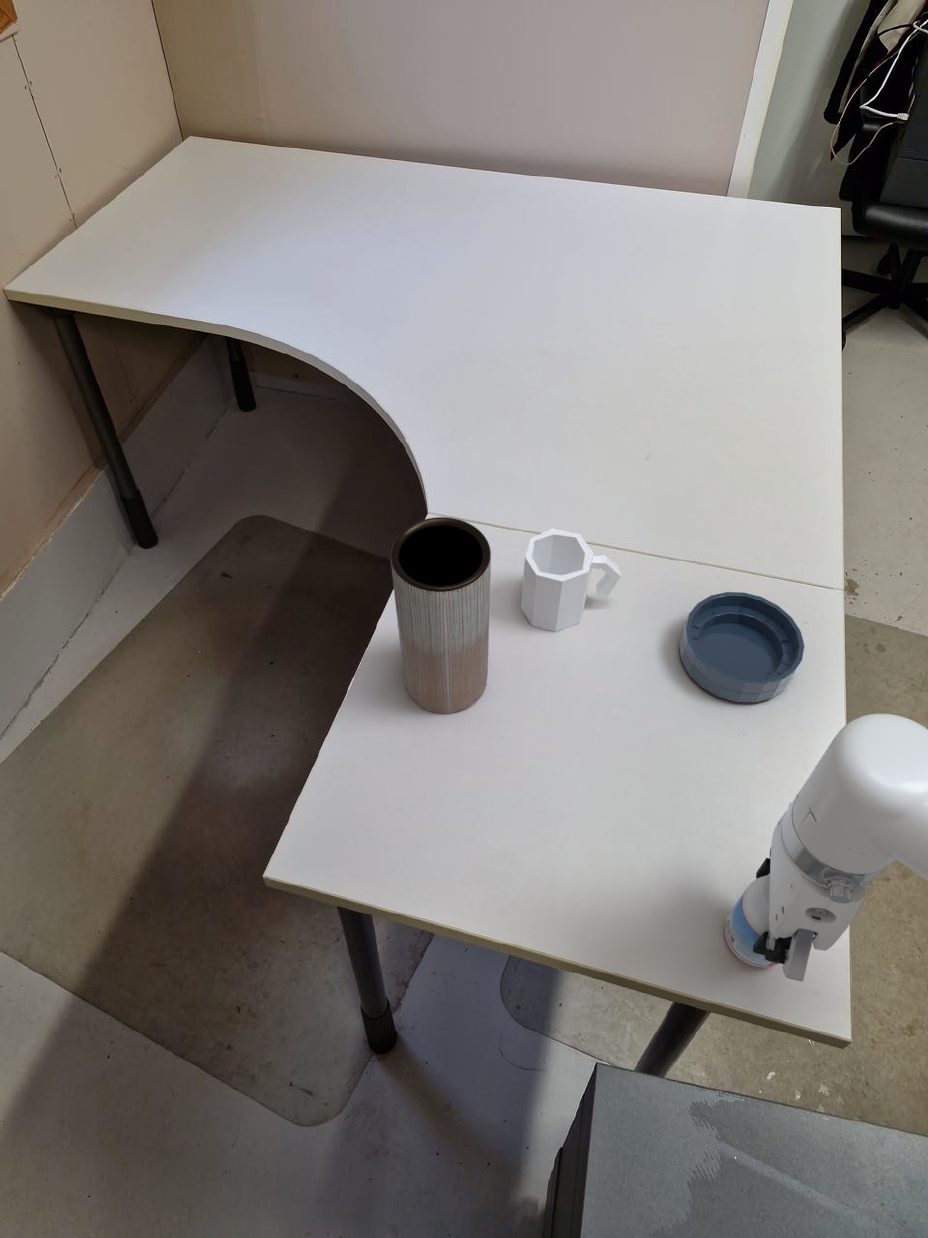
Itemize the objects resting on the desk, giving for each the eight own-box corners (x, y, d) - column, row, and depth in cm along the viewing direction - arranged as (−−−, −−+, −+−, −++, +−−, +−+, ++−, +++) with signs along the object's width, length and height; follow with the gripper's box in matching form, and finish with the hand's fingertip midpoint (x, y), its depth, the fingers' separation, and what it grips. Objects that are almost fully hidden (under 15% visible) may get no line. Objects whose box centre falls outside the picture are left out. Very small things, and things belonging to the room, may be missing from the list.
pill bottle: (780, 980, 77) (817, 943, 69) (716, 952, 79) (744, 912, 70) (793, 921, 81) (831, 879, 72) (732, 895, 83) (761, 851, 74)
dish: (758, 604, 106) (768, 582, 102) (813, 690, 98) (826, 669, 94) (661, 627, 104) (667, 605, 100) (708, 716, 96) (717, 695, 92)
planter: (391, 700, 97) (373, 574, 79) (423, 636, 103) (413, 505, 85) (470, 725, 95) (470, 602, 77) (498, 659, 101) (504, 529, 83)
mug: (524, 633, 103) (529, 583, 95) (517, 581, 108) (520, 529, 101) (619, 628, 104) (631, 577, 96) (607, 576, 109) (617, 524, 101)
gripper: (896, 965, 55) (814, 1027, 70) (883, 747, 66) (813, 839, 80) (782, 937, 57) (723, 1003, 71) (786, 727, 67) (734, 821, 81)
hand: (772, 915), depth 75 cm, fingers closed on pill bottle, 6 cm apart
